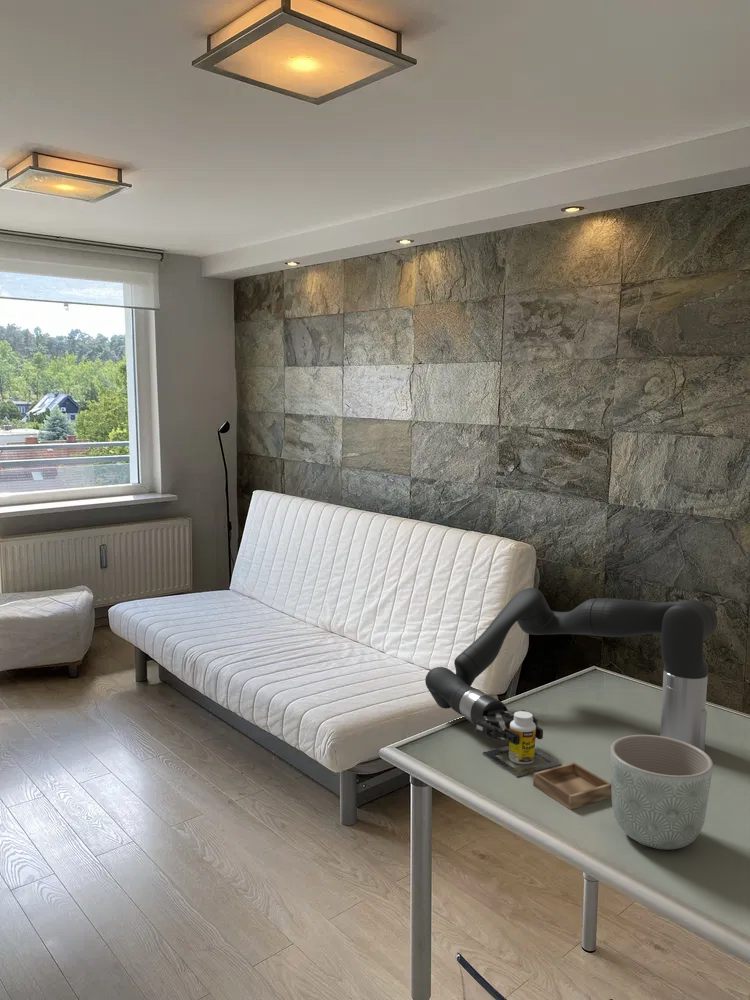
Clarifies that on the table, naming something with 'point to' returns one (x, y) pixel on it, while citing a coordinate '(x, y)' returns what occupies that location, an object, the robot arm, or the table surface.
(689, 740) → the robot arm
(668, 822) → the planter
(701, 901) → the table surface
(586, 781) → the tray
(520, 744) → the supplement bottle
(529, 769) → the grey square frame
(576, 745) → the table surface
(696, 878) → the table surface
